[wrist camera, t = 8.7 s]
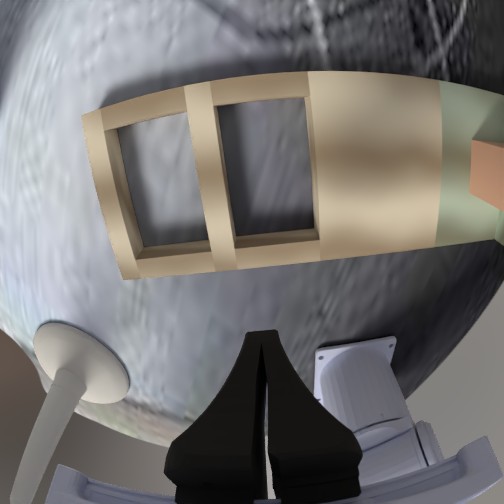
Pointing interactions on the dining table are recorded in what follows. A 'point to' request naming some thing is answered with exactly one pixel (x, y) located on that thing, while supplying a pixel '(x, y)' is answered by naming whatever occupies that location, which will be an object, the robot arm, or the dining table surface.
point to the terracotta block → (487, 172)
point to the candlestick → (65, 395)
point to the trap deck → (317, 169)
